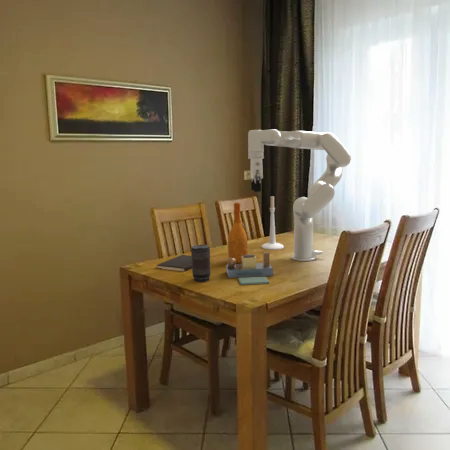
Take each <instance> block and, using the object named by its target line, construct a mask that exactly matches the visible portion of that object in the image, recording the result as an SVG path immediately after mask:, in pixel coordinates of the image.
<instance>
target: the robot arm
mask: <svg viewBox="0 0 450 450" xmlns="http://www.w3.org/2000/svg"><path fill="white" fill-rule="evenodd" d="M247 136H248V137H247V141H248V144H247V148H248V152H247V153H248V155H247V156H248V157H247V158H248V160H250V167H249V168H250V178H251V186H250V187H251V188H250V189H251V191H254V192H255V193H257V192H259V193H260V192H261V191H262V183H261V180H262V179H264V173H263V171H264V169H263V167H264V166H263V159H265V155H264V153H265V151H264V150H265V147H264V146H272V147H285V148H290V149H291V148H292V149H303V150H304V149H305V150H316V151H325V152H326V157H325V161H326V169H325V171H324V173H323V174H322V175H321V176H320V177H319V178H318V179H317V180H316V181H315V182H314V183H313V184H312V185H311V186H310V188H309V190H308V193H309V197H305V196H301V197H298V198H296V199H295V201H294V202H293V204H292V205H293V207H292V210H293V220H294V224H293V225H294V227H293V228H294V230H293V231H294V233H293V234H294V236H293V239H294V240H293V241H294V242H293V244H294V245H293V249H294V251H293V254H292V255H291V256H290V258H291V259H292V260H293V261H297V262H298V261H299V262H308V261H309V262H311V261H314V260H316V259H317V256H321V255H323V251H322V250H315V249H314V218H315V217H317V216H318V215H319V214H320V213H321V212H322V211H323V210H324V209H325V208H326V207H327V206H328V205H329V204H330V202H332V201H333V200H334V198H335V192H336V191H335V187H336V186H337V185H338V183H339V182H340V181H341V178H342V176H343V168H345V167H347V166H348V165H349V164H350V163H351V160H352V156H351V154H350V152H349V150H348V149H347V148H346V147H345V146H344V144H343V143H342V142H341V140H339V138H338V137H337V136H336V135H335V134H334V133H332V132H330V131H329V132H328V131H325V132H320V131H318V132H316V131H306V130H292V131H291V130H290V131H282V130H278V129H275V128H274V129H273V128H272V129H263V130H262V129H251V130H248V133H247Z"/></svg>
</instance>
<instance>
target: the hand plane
mask: <svg viewBox="0 0 450 450" xmlns="http://www.w3.org/2000/svg"><path fill="white" fill-rule="evenodd" d="M262 259H263V260H262V261H263V262H258V263H257V262H256V266H257V267H255V268H243V267H242V263H235V258H229V257H228V258H227V264H225V268H226V269H225V272H226V273H225V274H226V275H227V277H228V278H229V279H230V278H231V279H232V278H233V279H234V278H236V279H237V278H246V277H273V276H274V267H273V266H272V265H271V263H270V252H269V251H263V255H262Z"/></svg>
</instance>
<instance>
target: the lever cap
mask: <svg viewBox="0 0 450 450" xmlns="http://www.w3.org/2000/svg"><path fill="white" fill-rule="evenodd" d="M256 263H257V256H256V255H255V254H247V255H243V256H242V263H241V264H242V267H243V268H255V267H257V266H256Z"/></svg>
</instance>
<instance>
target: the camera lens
mask: <svg viewBox="0 0 450 450" xmlns="http://www.w3.org/2000/svg"><path fill="white" fill-rule="evenodd" d="M190 254H191V255H190V256H191V257H192V269H191V270H192V277H193V280H194V281H195V282H199V283H203V282H205V283H206V282H208V281H209V280H210V277H211V249H210V245H208V244H196V245H192V246H191V250H190Z"/></svg>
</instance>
